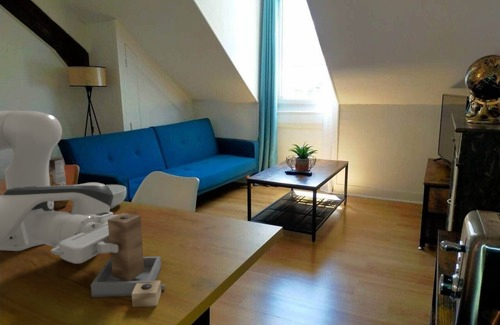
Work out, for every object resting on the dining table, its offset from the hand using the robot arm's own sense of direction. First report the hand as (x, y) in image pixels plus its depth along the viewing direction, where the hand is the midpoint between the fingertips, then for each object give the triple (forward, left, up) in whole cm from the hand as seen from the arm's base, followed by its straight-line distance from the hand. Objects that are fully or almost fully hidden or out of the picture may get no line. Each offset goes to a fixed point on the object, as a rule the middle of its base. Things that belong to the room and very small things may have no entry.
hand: (129, 242), depth 81 cm
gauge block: (+5, -8, -10) cm, 14 cm away
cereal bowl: (-26, +58, -10) cm, 65 cm away
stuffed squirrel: (-46, +60, -10) cm, 76 cm away
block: (-1, 0, -8) cm, 8 cm away
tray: (-1, 0, -10) cm, 10 cm away
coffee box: (-56, +80, -10) cm, 98 cm away
